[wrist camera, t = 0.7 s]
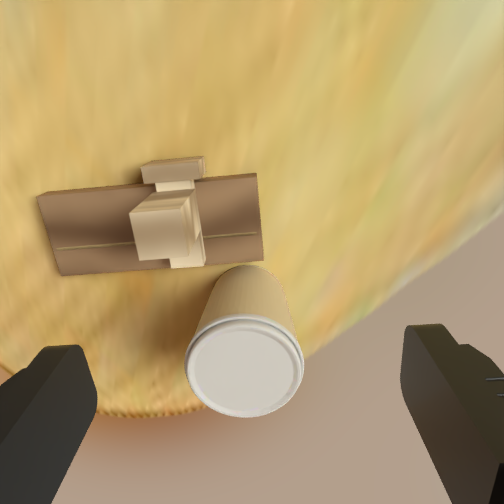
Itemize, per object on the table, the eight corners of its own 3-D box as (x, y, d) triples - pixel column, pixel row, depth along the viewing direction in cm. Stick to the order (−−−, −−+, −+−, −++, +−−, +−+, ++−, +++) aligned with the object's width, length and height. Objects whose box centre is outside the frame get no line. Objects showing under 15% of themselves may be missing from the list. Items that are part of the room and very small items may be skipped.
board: (47, 191, 36) (36, 196, 34) (256, 173, 35) (256, 177, 33) (70, 267, 39) (61, 276, 37) (263, 252, 38) (263, 260, 36)
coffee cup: (190, 313, 41) (163, 394, 29) (227, 241, 37) (213, 301, 26) (266, 347, 42) (268, 436, 31) (309, 280, 39) (328, 353, 28)
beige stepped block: (151, 161, 34) (113, 182, 25) (203, 156, 34) (183, 176, 25) (169, 256, 38) (141, 304, 29) (216, 252, 37) (203, 299, 28)
